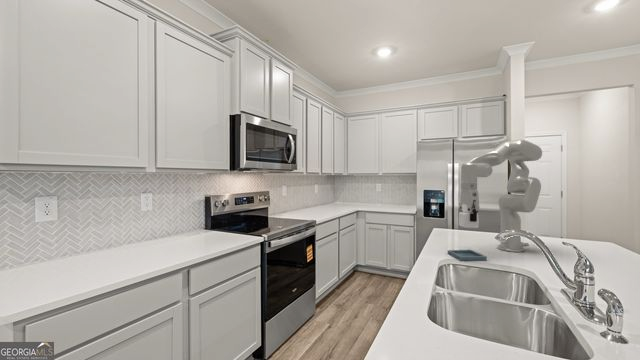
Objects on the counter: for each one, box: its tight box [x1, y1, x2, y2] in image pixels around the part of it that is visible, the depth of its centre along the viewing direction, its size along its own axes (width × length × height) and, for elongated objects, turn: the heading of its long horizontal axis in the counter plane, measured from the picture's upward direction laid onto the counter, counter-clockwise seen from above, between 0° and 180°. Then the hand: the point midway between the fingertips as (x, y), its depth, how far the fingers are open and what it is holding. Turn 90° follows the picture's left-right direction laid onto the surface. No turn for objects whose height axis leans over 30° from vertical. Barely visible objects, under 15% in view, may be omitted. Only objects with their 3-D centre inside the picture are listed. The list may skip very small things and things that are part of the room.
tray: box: [447, 249, 488, 262], centre depth 142 cm, size 13×13×2 cm
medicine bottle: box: [458, 204, 480, 229], centre depth 143 cm, size 7×7×12 cm
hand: (468, 220), depth 143 cm, fingers closed on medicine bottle, 7 cm apart
